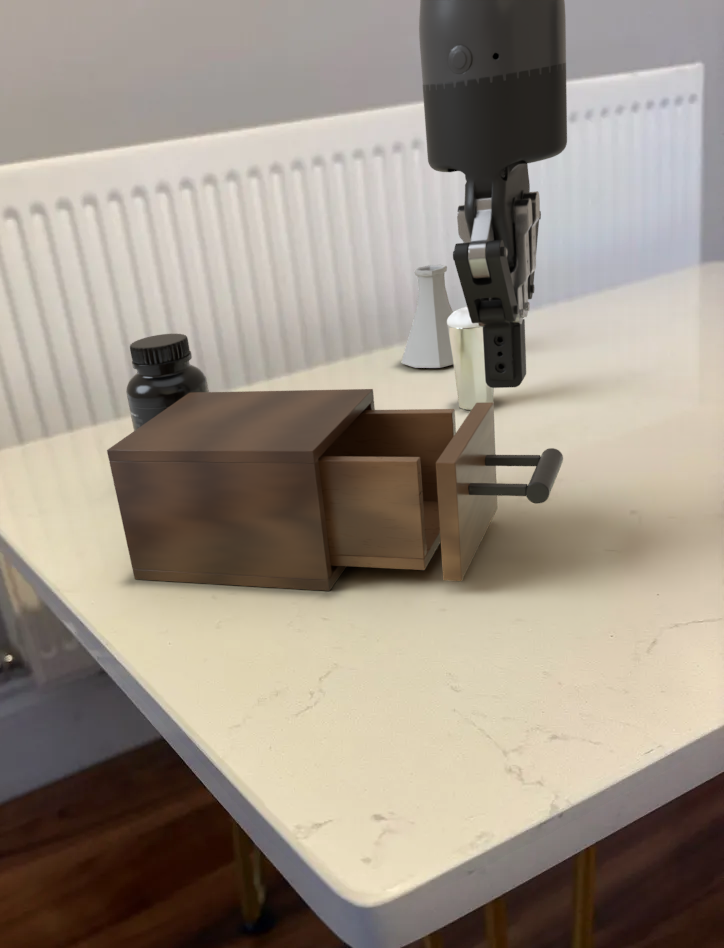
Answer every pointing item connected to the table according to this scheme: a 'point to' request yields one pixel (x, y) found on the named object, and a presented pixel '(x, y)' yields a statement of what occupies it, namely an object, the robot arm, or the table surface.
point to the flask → (430, 322)
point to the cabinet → (233, 487)
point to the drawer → (419, 488)
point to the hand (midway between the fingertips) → (506, 383)
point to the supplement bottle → (161, 376)
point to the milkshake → (468, 360)
